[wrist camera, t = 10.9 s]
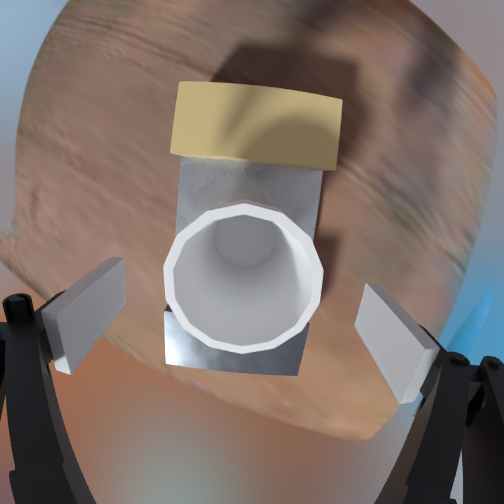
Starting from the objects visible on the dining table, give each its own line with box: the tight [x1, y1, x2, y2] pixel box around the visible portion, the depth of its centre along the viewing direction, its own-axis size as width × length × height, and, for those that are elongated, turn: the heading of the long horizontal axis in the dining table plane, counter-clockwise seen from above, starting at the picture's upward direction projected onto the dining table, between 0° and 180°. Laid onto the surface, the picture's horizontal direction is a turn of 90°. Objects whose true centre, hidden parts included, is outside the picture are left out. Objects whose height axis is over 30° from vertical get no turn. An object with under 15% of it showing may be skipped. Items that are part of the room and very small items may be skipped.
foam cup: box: [163, 199, 323, 354], centre depth 23 cm, size 10×9×13 cm
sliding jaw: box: [170, 82, 343, 171], centre depth 24 cm, size 6×13×6 cm, turn 84°
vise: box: [164, 156, 323, 376], centre depth 27 cm, size 26×14×8 cm, turn 173°
